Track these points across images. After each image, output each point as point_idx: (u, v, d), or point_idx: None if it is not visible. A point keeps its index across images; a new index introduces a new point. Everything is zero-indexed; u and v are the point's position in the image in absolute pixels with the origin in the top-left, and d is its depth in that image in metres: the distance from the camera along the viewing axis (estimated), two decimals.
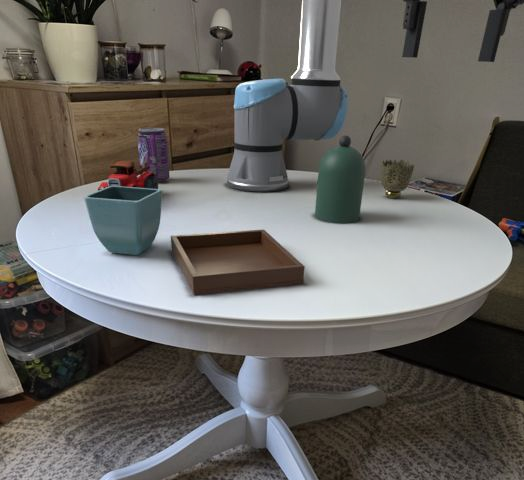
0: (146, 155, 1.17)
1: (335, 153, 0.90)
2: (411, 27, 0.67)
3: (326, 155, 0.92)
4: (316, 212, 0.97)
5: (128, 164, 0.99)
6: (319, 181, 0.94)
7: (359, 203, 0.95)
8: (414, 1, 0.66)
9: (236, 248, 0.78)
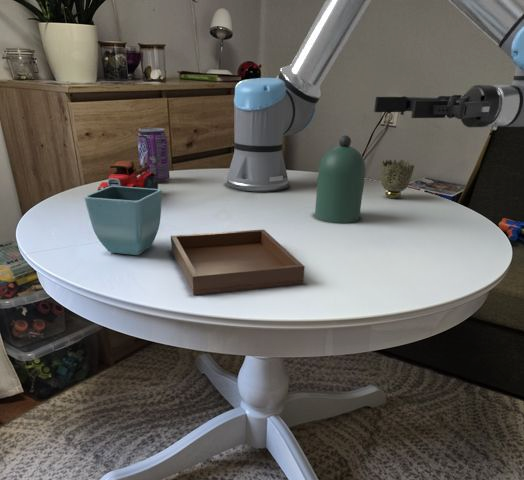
0: (146, 155, 1.17)
1: (335, 153, 0.90)
2: (433, 114, 0.86)
3: (326, 155, 0.92)
4: (316, 212, 0.97)
5: (128, 164, 0.99)
6: (319, 181, 0.94)
7: (359, 203, 0.95)
8: (448, 114, 0.86)
9: (236, 248, 0.78)
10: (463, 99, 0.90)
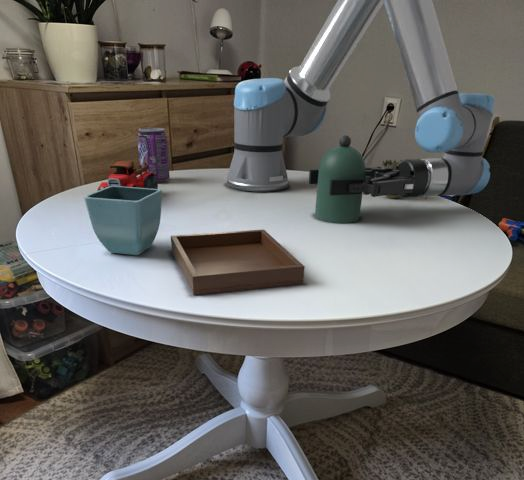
0: (146, 155, 1.17)
1: (335, 153, 0.90)
2: (349, 191, 0.90)
3: (326, 155, 0.92)
4: (316, 212, 0.97)
5: (128, 164, 0.99)
6: (319, 181, 0.94)
7: (359, 203, 0.95)
8: None
9: (236, 248, 0.78)
10: (388, 175, 0.94)
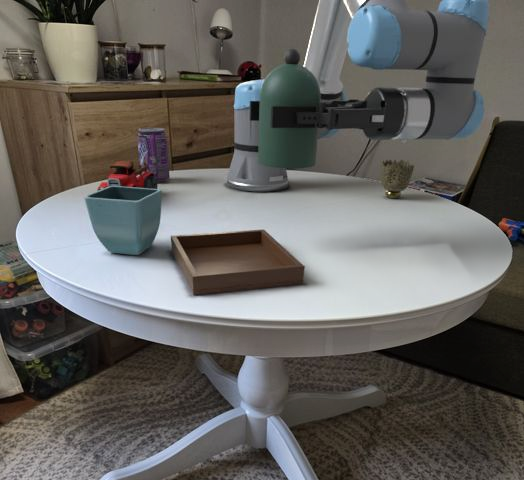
0: (146, 155, 1.17)
1: (278, 71, 0.68)
2: (297, 123, 0.68)
3: (268, 76, 0.69)
4: (259, 156, 0.74)
5: (128, 164, 0.99)
6: (260, 113, 0.71)
7: (313, 142, 0.72)
8: None
9: (236, 248, 0.78)
10: (350, 105, 0.71)
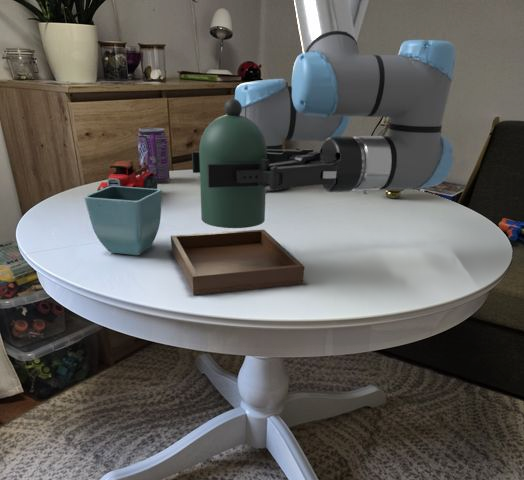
0: (146, 155, 1.17)
1: (217, 124, 0.61)
2: None
3: (206, 128, 0.62)
4: (201, 212, 0.68)
5: (128, 164, 0.99)
6: (200, 167, 0.64)
7: (260, 199, 0.65)
8: None
9: (236, 248, 0.78)
10: (300, 159, 0.65)
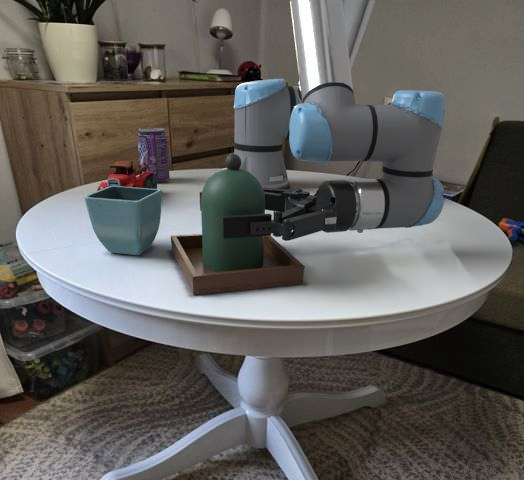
0: (146, 155, 1.17)
1: (217, 179, 0.64)
2: (251, 233, 0.63)
3: (208, 181, 0.66)
4: (203, 257, 0.71)
5: (127, 164, 0.99)
6: (201, 216, 0.68)
7: (258, 246, 0.69)
8: (272, 232, 0.63)
9: None
10: (302, 205, 0.67)
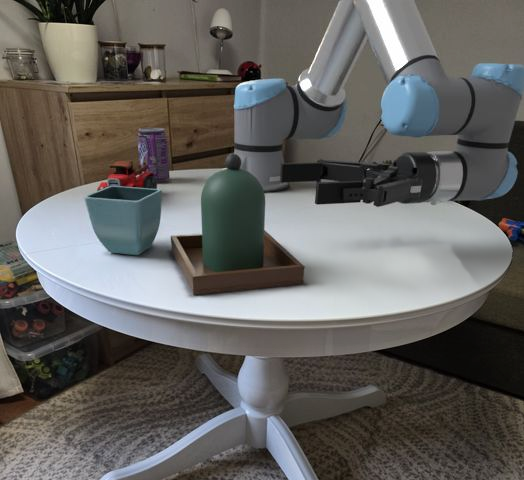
0: (146, 155, 1.17)
1: (217, 179, 0.64)
2: (343, 199, 0.65)
3: (208, 181, 0.66)
4: (203, 257, 0.71)
5: (127, 164, 0.99)
6: (201, 216, 0.68)
7: (258, 246, 0.69)
8: None
9: None
10: (387, 175, 0.69)
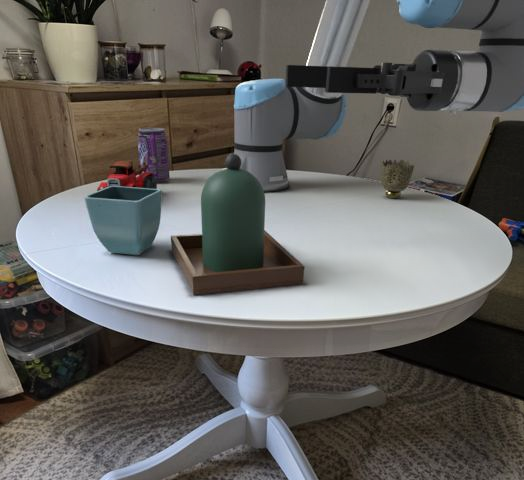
0: (146, 155, 1.17)
1: (217, 179, 0.64)
2: (357, 87, 0.58)
3: (208, 181, 0.66)
4: (203, 257, 0.71)
5: (127, 164, 0.99)
6: (201, 216, 0.68)
7: (258, 246, 0.69)
8: (379, 88, 0.59)
9: None
10: (405, 68, 0.62)
